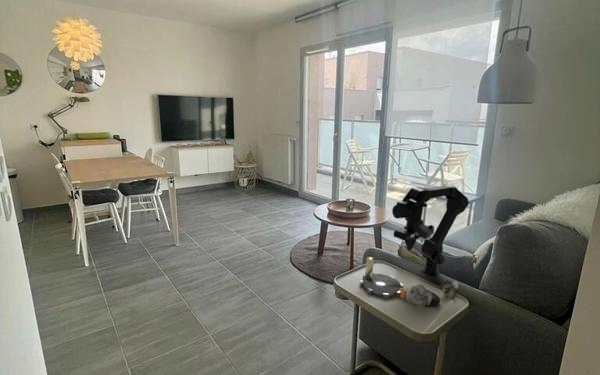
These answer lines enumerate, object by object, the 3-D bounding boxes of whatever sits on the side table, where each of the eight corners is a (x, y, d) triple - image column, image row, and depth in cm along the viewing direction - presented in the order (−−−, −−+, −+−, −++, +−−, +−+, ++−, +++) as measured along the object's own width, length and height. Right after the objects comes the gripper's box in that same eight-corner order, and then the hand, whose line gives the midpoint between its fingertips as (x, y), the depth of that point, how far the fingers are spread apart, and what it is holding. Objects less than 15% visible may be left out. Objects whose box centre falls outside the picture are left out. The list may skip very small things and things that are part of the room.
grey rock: (436, 305, 130) (435, 315, 121) (408, 292, 134) (406, 301, 125) (442, 291, 129) (442, 300, 120) (414, 278, 133) (412, 285, 124)
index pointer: (400, 295, 131) (401, 287, 130) (405, 298, 130) (406, 290, 129) (398, 297, 130) (399, 289, 129) (403, 299, 128) (405, 291, 128)
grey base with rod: (357, 275, 144) (360, 252, 142) (396, 278, 144) (400, 255, 142) (363, 296, 128) (366, 271, 125) (407, 300, 127) (411, 274, 125)
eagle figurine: (435, 283, 140) (434, 289, 132) (447, 272, 138) (447, 278, 130) (449, 297, 138) (449, 304, 130) (462, 286, 136) (463, 292, 128)
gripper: (418, 225, 129) (412, 262, 132) (443, 219, 140) (437, 252, 143) (395, 217, 137) (390, 251, 141) (420, 211, 148) (415, 243, 152)
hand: (409, 250), depth 144 cm, fingers closed
